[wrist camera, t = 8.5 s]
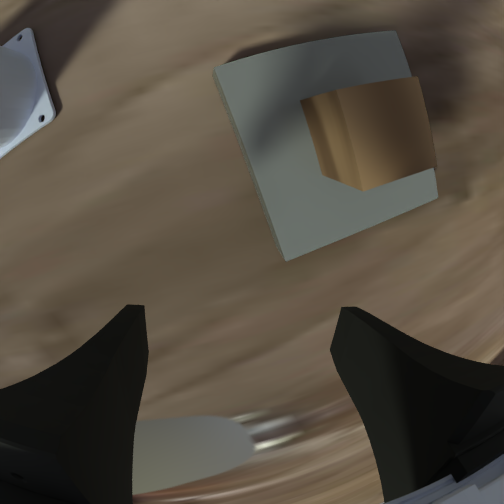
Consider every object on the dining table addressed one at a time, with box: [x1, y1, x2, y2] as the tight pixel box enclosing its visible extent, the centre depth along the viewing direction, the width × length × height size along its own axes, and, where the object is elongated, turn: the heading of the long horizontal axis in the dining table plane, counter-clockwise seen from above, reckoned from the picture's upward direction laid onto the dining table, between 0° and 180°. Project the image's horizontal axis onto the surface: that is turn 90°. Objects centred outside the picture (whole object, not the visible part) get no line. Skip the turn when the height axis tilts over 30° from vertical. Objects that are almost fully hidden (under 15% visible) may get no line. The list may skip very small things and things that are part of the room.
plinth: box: [213, 30, 438, 261], centre depth 18 cm, size 12×12×2 cm
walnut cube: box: [300, 76, 437, 191], centre depth 14 cm, size 4×4×5 cm
